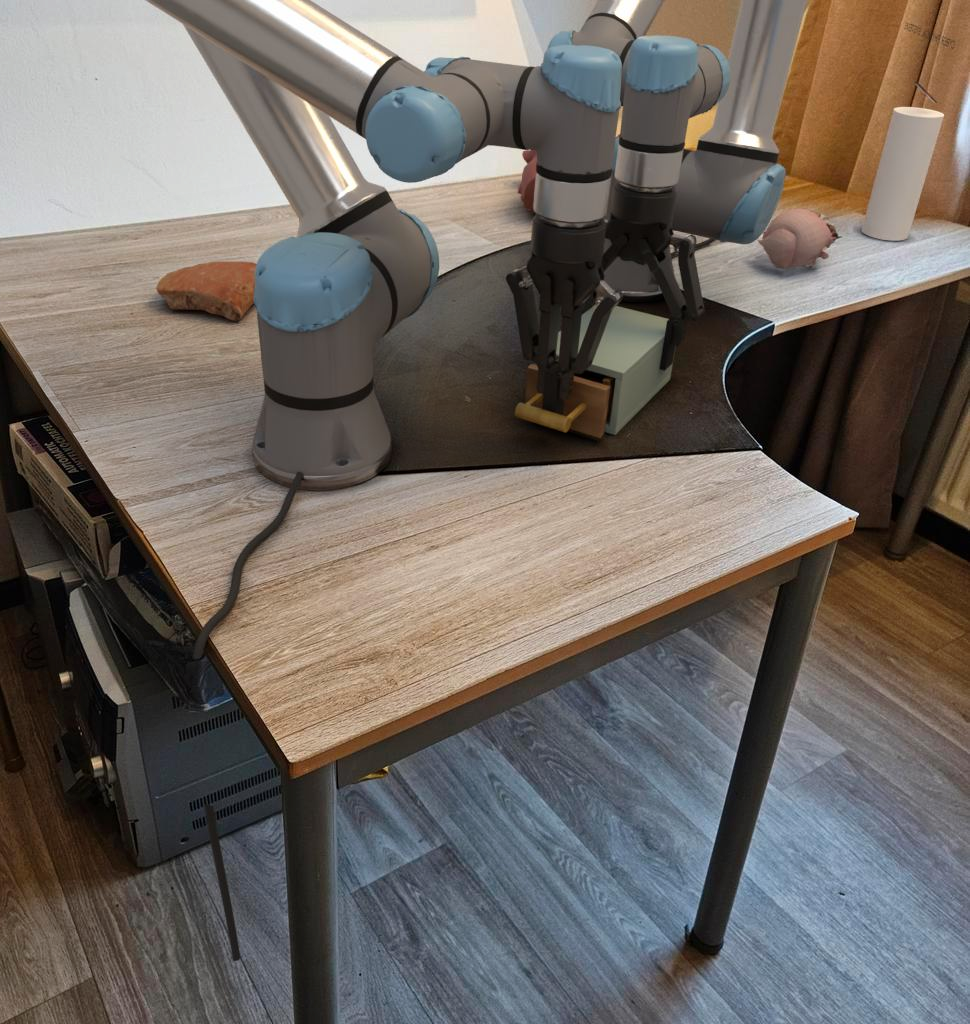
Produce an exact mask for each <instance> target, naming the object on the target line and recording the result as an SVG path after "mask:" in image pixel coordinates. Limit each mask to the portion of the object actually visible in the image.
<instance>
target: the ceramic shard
mask: <svg viewBox="0 0 970 1024" xmlns="http://www.w3.org/2000/svg"><path fill="white" fill-rule="evenodd" d="M256 264H257V262H252V261H210V262H206V263H205V262H204V263H199V264H195V265H192V266H186V267H185V266H184V267H183V268H179V269H177V270H174V271H171V272H168V273H166V274H165V276H163V277H162V278H161V279H159V281H158V283H157V285H156V288H155V289H156V292H157V294H159V295H160V296H161V297H162V298H163V299H164V300H165V302H166V304H167V305H168V307H169V309H172V310H190V311H191V310H195V311H196V310H201V311H206V312H207V313H210V314H211V315H218V316H222V317H225V319H228V320H230V321H234V322H236V321H237V322H238V321H241V319H242V318H243V317H244V316H245V314H246V313H247V312H248V310H249V309H250V308H251V306H252V305H253V304H254V290H255V289H254V288H255V268H256Z"/></svg>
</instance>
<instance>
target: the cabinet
mask: <svg viewBox="0 0 970 1024" xmlns="http://www.w3.org/2000/svg"><path fill="white" fill-rule="evenodd" d="M597 307H598V306H596V304H594V305H592V308H591V309H589V310H588V311H587V312H585V313H584V314H583V315H582V318H581V328H580V338H579V348H578V353H579V350H580V347H581V344H582V342H583V339H584V336H585V333H586V331H587V328H588V325H589V323H590V320H591V317H592V315H593V312H594V311H595V309H596V308H597ZM669 319H670V318H666V317H662V316H658V315H654V314H650V313H648V312H647V313H646V312H642V311H638V310H634V309H631V308H626V307H622V306H618V305H616V306H615V307H614V309H613V310H612V312H611V315H610V317H609V320H608V323H607V325H606V328H605V331H604V333H603V336H602V339H601V341H600V344H599V346H598V349H597V352H596V354H595V357H594V360H593V362H592V364H591V366H589V367H588V368H587V369H586V370H589V371H592V372H596V373H599V374H603V375H606V376H610V377H613V378H616V380H615V388H614V395H613V403H612V411H611V417H610V418H609V419H608V420H607V421H606V423H605V431H604V433H607V434H609V435H614V436H615V435H617V434H619V432H620V431H621V430H622V429H623V428H624V427H625V426H626V425H627V424H628V423H629V422H630V421H631V420H632V419H633V418H634V417H635V416H636V415H637V414H638V413H639V412H640V411H641V409H643V408H644V407H645V406H646V405H647V404H648V403H649V401H651V400H652V398H654V397H655V395H656V394H657V393H659V391H660V390H661V389H662V388H663V387H664V386H665V385H666V384H667V383H669V381H670V380H671V377H672V371H673V364H674V362H673V363H672V364H671V365H670V366H669V367H668V368H667V369H666V370H665V371H664V370H660V369H659V368H660V362H661V356H662V350H663V343H664V337H665V330H666V324H667V321H668V320H669ZM560 338H561V330H560V331H558V341H557V352H556V355H557V356H559V350H560ZM675 348H676V346H675ZM675 353H676V351H675V352H674V354H675ZM557 356H556V357H557ZM674 359H675V357H674V358H673V360H674ZM555 361H557V362H558V361H559V357H558V358H557V359H556V360H555ZM534 364H535V365H536V363H534Z"/></svg>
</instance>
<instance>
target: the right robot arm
mask: <svg viewBox="0 0 970 1024" xmlns="http://www.w3.org/2000/svg"><path fill="white" fill-rule="evenodd" d="M665 1H666V0H597V1H596V2H595V4H594V6H593V8H592V10H591V11H590V13H589V15H588V16H587V19H586V20H585V22H584V23H583V25H582V27H581V28H580V29H579V31H576V30H573V29H572V30H562V31H560V32H558V33H555V34H554V35H553V37H551V39H550V41H549V44H548V46H547V48H546V50H547V49H549V48H551V47H554V46H559V45H575V46H576V45H578V46H581V45H587V46H595V47H601V48H605V49H609V50H611V51H613V52H615V53H616V54H617V55H618V56H619V58H620V60H621V63H622V72H621V89H620V101H621V107H622V112H621V121H620V130H619V134H620V136H619V137H618V138H616V139H615V147H614V155H613V163H612V174H611V185H610V194H609V203H608V212H607V215H606V216H605V217H604V218H603V219H604V221H605V222H606V232H605V241H604V250H603V257H602V269H603V271H604V275H605V278H604V281H605V282H606V283H607V284H608V285H609V286H610V287H611V288H612V289H613V290H614V291H615V290H620V291H622V293H623V298H622V300H621V301H620V302H625V303H626V302H628V303H629V302H630V303H646V302H647V303H648V302H654V301H659V300H662V299H664V301H665V302H666V305H667V307H668V310H669V312H670V314H671V317H670V318H668V319H669V320H668V321H667V324H666V330H665V337H664V343H663V350H662V356H661V362H660V368H659V369H660V370H664V371H665V370H666V369H667V368H668V367H669V366H670V365H671V364H672V363H673V364H674V359H675V353H676V347H675V346H677V347H679V346H680V345H681V344H682V343H683V342H684V340H685V338H686V331H687V325H688V322H690V321H691V322H696V321H697V320H698V319H700V317H702V316H703V315H704V314H705V312H706V311H705V305H704V299H703V294H702V287H701V282H700V277H699V272H698V266H697V261H696V255H695V254H696V249H699V248H702V247H705V246H707V245H709V244H712V243H713V242H715V241H719V243H730V244H731V243H732V244H737V245H749V244H753V243H754V242H755V241H758V240H759V238H760V237H761V236H762V235H763V233H764V232H765V231H766V230H767V228H768V226H769V225H770V223H771V221H772V218H773V216H774V214H775V211H776V210H777V207H778V205H779V202H780V200H781V197H782V193H783V191H784V185H785V181H786V175H787V170H786V168H785V167H784V166H783V165H781V164H780V163H778V159H779V156H780V149H779V148H778V146H777V144H776V142H775V141H774V135H773V134H774V130H775V128H776V124H777V123H776V122H777V119H778V115H779V111H780V109H781V108H780V107H781V104H782V99H783V95H784V91H785V89H786V84H787V80H788V76H789V73H790V69H791V65H792V61H793V58H794V57H793V56H794V53H795V49H796V46H797V41H798V37H799V33H800V29H801V27H802V22H803V18H804V14H805V10H806V6H807V4H808V3H807V2H808V0H741V2H740V6H739V11H738V16H737V20H736V24H735V28H734V32H733V37H732V41H731V45H730V49H729V54H728V58H727V57H726V55H724V53H723V52H722V51H721V50H720V49H718V48H717V47H715V46H714V45H710V44H699V43H696V42H695V41H694V40H692V39H690V38H687V37H683V36H674V35H655V34H654V35H647V33H648V32H649V30H650V28H651V26H652V24H653V22H654V21H655V19H656V17H657V15H658V13H659V12H660V10H661V8H662V6H663V5H664V3H665ZM715 106H717V107H716V110H715V114H714V119H713V123H712V126H711V128H710V129H709V130H707V131H706V132H704V133H703V134H702V135H701V136H699V137H698V140H697V145H696V149H695V150H692V149H686V148H685V146H686V137H687V132H688V126H689V125H688V124H689V119H692V118H693V117H696V116H699V115H704V114H705V113H708V112H709V111H711V110H712V109H713V108H714V107H715ZM675 232H679V233H683V234H688V235H687V236H684V235H679V234H675ZM696 236H697V237H703V238H706V240H704V241H701V242H698V243H697V241H698V240H697V237H696ZM671 246H672V247H673V249H674V251H672V252H671ZM674 257H677V264H678V269H679V274H680V280H681V286H682V290H681V288H680V285H679V284H678V283H679V282H678V281H677V279H676V276H675V271H674V265H673V259H672V258H674ZM682 291H683V292H682ZM594 295H595V296H597V292H596V291H595V292H594V293H593V294H592V295H591V296H590V297H589V298H588V299H587V300H586V301H585V305H584V309H583V311H582V315H583V314H584V313H585V312H587V311H588V310H589V309H591V308H592V307H593V301H594V300H593V299H594ZM674 352H675V353H674ZM673 358H674V359H673Z"/></svg>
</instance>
